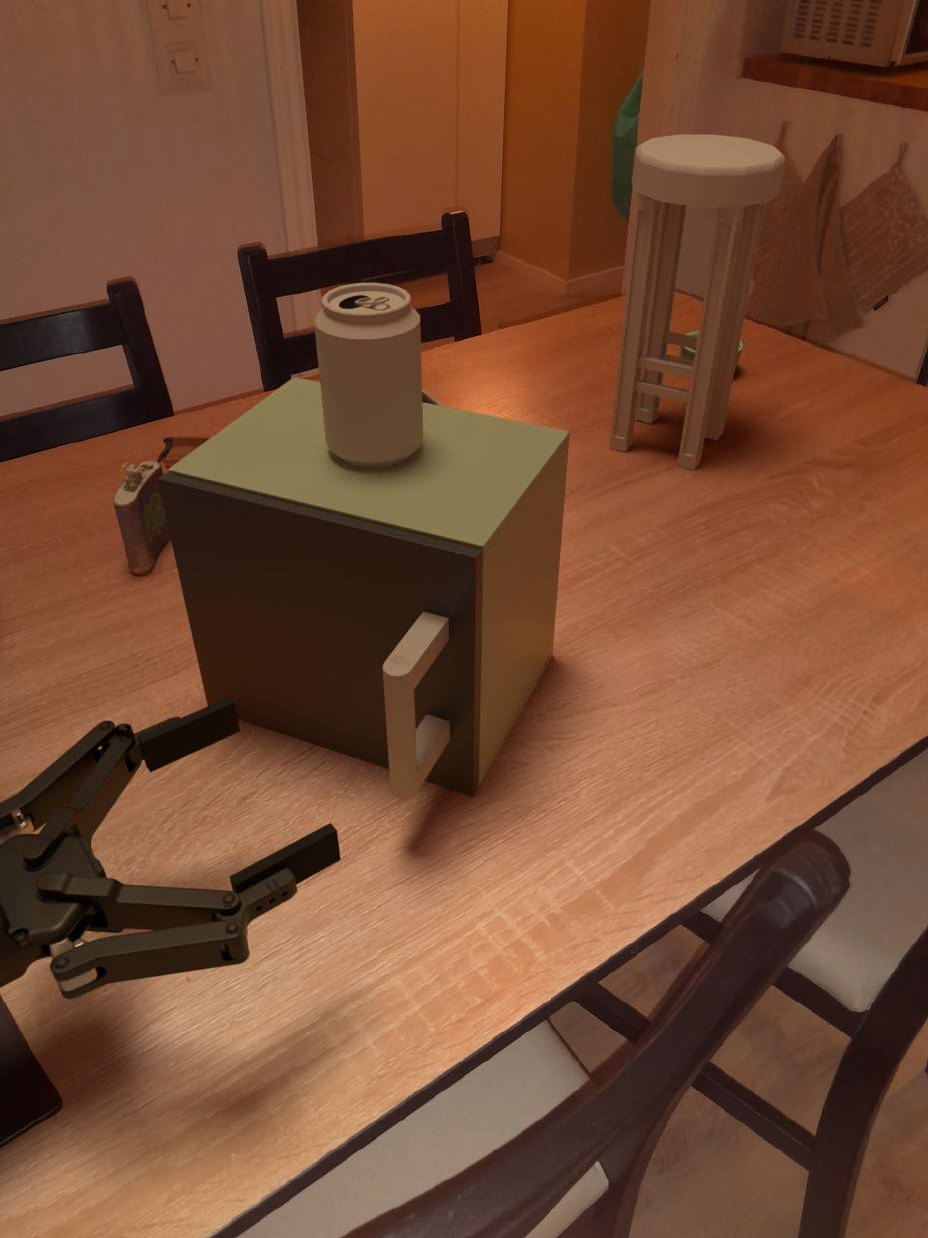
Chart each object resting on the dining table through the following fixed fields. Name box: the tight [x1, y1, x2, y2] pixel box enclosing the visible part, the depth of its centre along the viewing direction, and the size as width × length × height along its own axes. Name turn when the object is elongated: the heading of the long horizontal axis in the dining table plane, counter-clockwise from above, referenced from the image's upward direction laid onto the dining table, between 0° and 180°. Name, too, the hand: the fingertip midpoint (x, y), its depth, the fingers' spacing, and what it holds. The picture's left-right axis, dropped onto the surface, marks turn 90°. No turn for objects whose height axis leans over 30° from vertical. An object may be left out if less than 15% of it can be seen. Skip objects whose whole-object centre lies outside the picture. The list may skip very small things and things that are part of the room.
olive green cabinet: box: [167, 376, 571, 787], centre depth 82 cm, size 18×26×24 cm
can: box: [313, 282, 423, 468], centre depth 71 cm, size 8×8×12 cm
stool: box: [609, 133, 786, 471], centre depth 115 cm, size 16×16×35 cm
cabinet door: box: [158, 472, 482, 800], centre depth 72 cm, size 8×26×23 cm, turn 67°
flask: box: [112, 460, 171, 577], centre depth 102 cm, size 9×3×11 cm, turn 173°
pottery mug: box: [156, 435, 213, 470], centre depth 114 cm, size 12×10×8 cm
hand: (282, 773), depth 62 cm, fingers open, 13 cm apart
